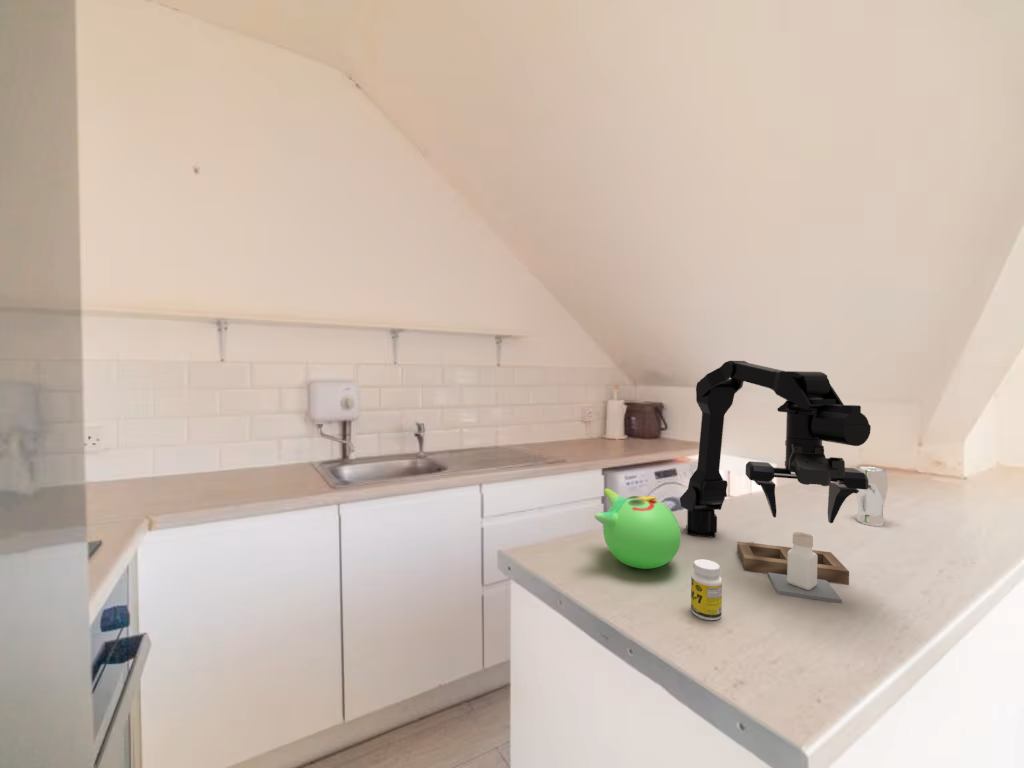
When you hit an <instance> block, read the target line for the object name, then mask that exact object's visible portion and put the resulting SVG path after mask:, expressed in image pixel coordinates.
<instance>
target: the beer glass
mask: <svg viewBox="0 0 1024 768" xmlns="http://www.w3.org/2000/svg"><path fill="white" fill-rule="evenodd" d="M855 469H857V470H859V471H861V472H863V473H864V474H865V475H866V476H867V478H868V489H866V490H865V489H857V490H859V492H858V493H855V494H856V500H857V509H858V510H857V515H856V518H855V519H856V522H858V523H859V524H861V525H862V524H863V525H867V526H870V527H871V526H872V527H884V526H885V525H886V523H885V519H884V506H885V502H886V497H887V493H888V486H889V485H888V484H889V483H888V470H887V469H885V468H882V467H881V468H880V467H875V466H862V465H861V466H856V467H855Z"/></svg>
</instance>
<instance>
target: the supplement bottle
mask: <svg viewBox="0 0 1024 768" xmlns="http://www.w3.org/2000/svg"><path fill="white" fill-rule="evenodd" d="M720 575H721V567H720V564H718V562H715V561H713V560H709V559H702V558H701V559H696V560H694V562H693V572H692V573H691V582H690V583H691V584H690V586H691V589H690V610H691V612H692V614H693V615H695V616H696V617H697V618H699V619H701V620H704V621H705V620H706V621H717V620H719V619H721V617H722V612H723V611H722V610H723V608H722V607H723V580H722V578H721V576H720Z"/></svg>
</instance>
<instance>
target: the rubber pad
mask: <svg viewBox="0 0 1024 768" xmlns="http://www.w3.org/2000/svg"><path fill="white" fill-rule="evenodd" d="M767 577H768V578H769V581H770V582H771V584H772V586H773V588H774V590H775V592H776V593H777V595H778V594H779V595H783V596H789V597H790V596H791V597H797V598H804V599H811V600H819V601H825V602H830V603H831V602H832V603H839V604H842V603H843V599H842V598H841V596H839V594H838V593H837V592H836V591H835V589H834V588H833V587H832V586H831V584H830V582H828V581H827V580H821V579H817V584H816V586H815V587H813V588H812V589H810V590H806V589H803V588H800V587H797V586H795V585H792V584H789V583H788V582H787V575H784V574H777V573H769V572H768V573H767Z"/></svg>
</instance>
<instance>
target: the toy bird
mask: <svg viewBox="0 0 1024 768" xmlns="http://www.w3.org/2000/svg"><path fill="white" fill-rule="evenodd" d="M603 490H604V494H605V497H606V498H607V500H608V502H609V504H610V508H609V509H608V510H607V511H600V512H597V513H595V514H594V519H595V520H596V521H598V522H599V523H600V524H602V525H603V527H602V528H603V529H602V531H603V537H604V542H605V544H606V546H607V548H608V549H609V551H610V553H611V554H612V555H613V556H614V557H615V558H616V559H617V560H618V561H620V562H621V563H623V564H624V565H626V566H629V567H632V568H634V569H635V568H636V569H643V570H647V569H648V570H649V569H650V570H651V569H656V568H659V567H662V566H664V565H666V564H668V563H670V562H671V561H672V560H673V559H674V558H675V556H676V555H677V553H678V552H679V549H680V546H681V542H682V540H681V538H682V537H681V535H682V534H681V529H680V524H679V522H678V519H677V517H676V516H675V514H674V512H673V511H672V510H671V509H670V508H669V507H668V506H667V505H666V504H665V503H663V502H661V501H660V500H657V499H658V497H657V496H649V495H648V496H639V495H638V496H637V495H632V496H629V497H626V498H625V497H622V495H620V494H618V493H616V492H615V491H614V490H612V489H610V488H604V489H603Z"/></svg>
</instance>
